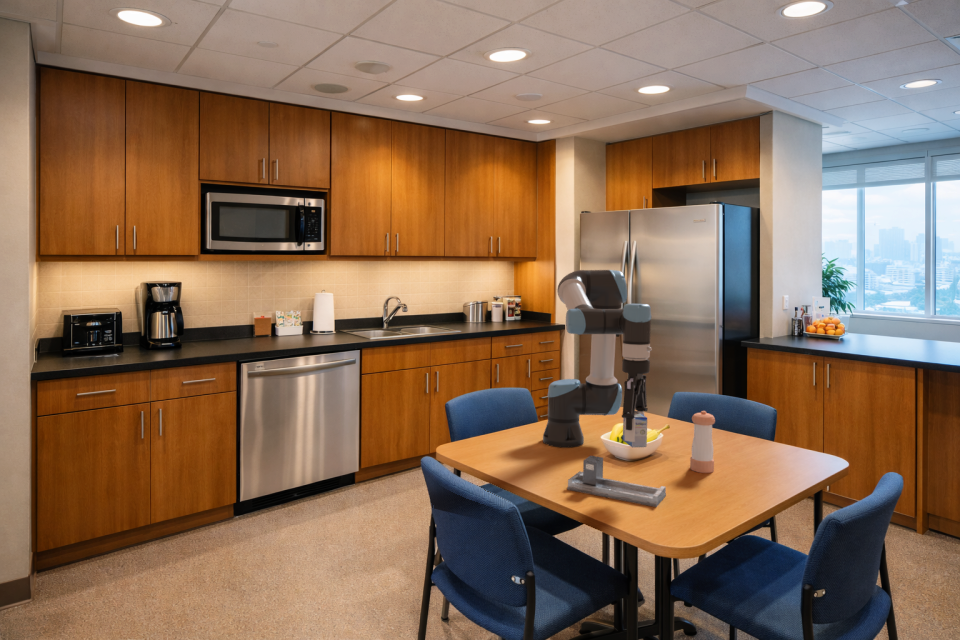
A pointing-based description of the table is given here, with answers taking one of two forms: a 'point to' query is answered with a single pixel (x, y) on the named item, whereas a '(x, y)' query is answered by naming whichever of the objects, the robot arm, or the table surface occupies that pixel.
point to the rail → (612, 485)
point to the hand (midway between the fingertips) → (634, 437)
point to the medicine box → (638, 431)
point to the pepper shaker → (702, 443)
